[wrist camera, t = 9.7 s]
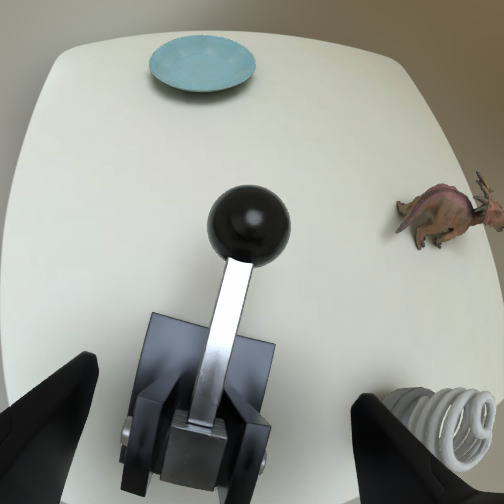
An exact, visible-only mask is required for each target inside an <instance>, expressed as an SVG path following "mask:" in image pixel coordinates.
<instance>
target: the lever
mask: <svg viewBox="0 0 504 504" xmlns="http://www.w3.org/2000/svg"><path fill="white" fill-rule="evenodd" d="M207 232H208V238H209V241H210V243H211V245H212V247H213V249H214V250H215V252H216V253H217V254H218V255H219V256H220V257H221V258H222V259H223V260H225V261H226V263H225V267H224V271H223V275H222V278H221V282H220V286H219V290H218V294H217V298H216V301H215V305H214V309H213V313H212V317H211V321H210V325H209V329H208V333H207V337H206V341H205V345H204V349H203V353H202V357H201V361H200V365H199V369H198V373H197V377H196V381H195V385H194V390H193V394H192V398H191V402H190V406H189V411H185V410H181V409H176V410H175V413H174V417H173V420H172V423H171V427H170V431H169V436H168V441H167V445H166V450H165V455H164V460H163V465H162V470H161V475H160V480H161V481H165V482H169V483H173V484H177V485H181V486H186V487H191V488H196V489H201V490H206V491H214V488H215V484H216V481H217V477H218V473H219V470H220V466H221V462H222V459H223V455H224V451H225V448H226V444H227V440H228V437H227V432H226V428H225V424H224V420H223V419H219V418H216V415H217V412H218V408H219V404H220V400H221V396H222V392H223V388H224V384H225V380H226V376H227V372H228V368H229V364H230V360H231V356H232V351H233V347H234V343H235V339H236V335H237V331H238V327H239V323H240V319H241V315H242V311H243V307H244V303H245V299H246V295H247V291H248V287H249V283H250V279H251V274H252V270H253V268H257V267H261V266H264V265H266V264H268V263H270V262H272V261H273V260H275V259H276V258H277V257H278V256H279V255H280V254H281V253H282V252H283V250H284V249H285V247H286V245H287V243H288V240H289V237H290V232H291V221H290V216H289V212H288V210H287V208H286V206H285V204H284V203H283V202H282V200H281V199H280V198H279V197H278V196H277V195H276V194H275V193H273V192H272V191H270V190H268V189H266V188H264V187H261V186H257V185H241V186H237V187H234V188H232V189H230V190H228V191H226V192H225V193H223V194H222V195H221V196H220V197H219V198H218V199H217V200H216V202H215V203H214V204H213V206H212V208H211V210H210V213H209V216H208V220H207Z"/></svg>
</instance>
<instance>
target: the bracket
mask: <svg viewBox="0 0 504 504" xmlns="http://www.w3.org/2000/svg"><path fill="white" fill-rule="evenodd" d="M208 329H209V328H207V327H203V326H200V325H196V324H192V323H189V322H185V321H182V320H178V319H175V318H171V317H168V316H165V315H161V314H158V313H155V312H152V314H151V318H150V322H149V325H148V329H147V333H146V337H145V340H144V344H143V348H142V352H141V356H140V360H139V364H138V369H137V373H136V377H135V382H134V386H133V391H132V395H131V400H130V405H129V409H128V414H127V418H126V420H125V422H124V425H123V429H122V433H121V444H122V447H121V453H120V459H119V462H120V463H123V464H124V468H123V474H122V481H121V488H120V489H121V490H123V491H126V492H129V493H132V494H135V495H138V496H142V497H145V496H146V493H147V490H148V487H149V484H150V481H151V478H152V475H153V473H155V474H159V475H161V470H162V465H163V460H164V455H165V450H166V445H167V441H168V436H169V431H170V427H171V423H172V420H173V417H174V413H175V410H176V409H181V410H185V411H189V406H190V402H191V398H192V394H193V390H194V385H195V381H196V377H197V373H198V369H199V365H200V361H201V357H202V353H203V349H204V345H205V341H206V337H207V333H208ZM275 346H276V345H275V344H274V343H269V342H265V341H260V340H256V339H251V338H247V337H243V336H239V335H236V339H235V343H234V347H233V351H232V356H231V360H230V364H229V368H228V372H227V376H226V380H225V384H224V388H223V392H222V396H221V400H220V404H219V408H218V412H217V415H216V418H219V419H223V420H224V424H225V428H226V432H227V437H228V440H227V444H226V448H225V451H224V455H223V459H222V462H221V466H220V470H219V473H218V477H217V481H216V484H215V487H217V490H218V496H219V501H220V504H250V502H251V498H252V495H253V492H254V488H255V485H256V482H257V478H258V475H260V474H261V473H262V472H263V470H264V467H265V464H266V446H267V442H268V438H269V435H270V431H271V425H270V424H269V423H268V422H267V421H266V420H265V419H264V418H263V417H262V416H261V415H260V410H261V406H262V402H263V398H264V394H265V389H266V385H267V381H268V377H269V372H270V368H271V364H272V359H273V355H274V350H275Z"/></svg>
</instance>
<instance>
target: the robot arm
mask: <svg viewBox="0 0 504 504" xmlns="http://www.w3.org/2000/svg"><path fill="white" fill-rule="evenodd" d="M98 376H99V368H98V363H97V357H96V355H95V354H93V353H90V352H87V351H84V352H82V353H80V354H79V355H78V356H76V357H75V358H74V359H72V360H71V361H70V362H68V363H67V364H65V365H64V366H63V367H61V368H60V369H59V370H57V371H56V372H55V373H53V374H52V375H51V376H49V377H48V378H47V379H45V380H44V381H43V382H41V383H40V384H39V385H37V386H36V387H35V388H33V389H32V390H31V391H29V392H28V393H27V394H25V395H24V396H23V397H21V398H20V399H19V400H17V401H16V402H15V403H13V404H12V405H11V407H8V408H7V409H6V410H4V411H3V412H1V413H0V504H59V503H60V499H61V496H62V492H63V489H64V485H65V482H66V479H67V475H68V472H69V469H70V466H71V463H72V460H73V457H74V454H75V451H76V448H77V445H78V442H79V439H80V436H81V434H82V431H83V428H84V425H85V423H86V420H87V417H88V414H89V410H90V406H91V402H92V398H93V394H94V391H95V387H96V383H97V380H98ZM351 428H352V445H353V453H354V459H355V466H356V472H357V479H358V487H359V494H360V502H361V504H504V493H492V492H482V491H478V490H476V489H474V488H472V487H471V486H469V485H468V484H467V483H465V482H464V481H463V480H462V479H461V478H459V477H458V476H457V475H455V474H454V473H453V472H452V471H451V470H449V469H448V468H447V467H446V466H445V465H444V464H443V463H442V462H441V461H440V460H439V459H437V458H436V457H435V456H434V455H433V454H432V453H431V452H430V451H429V450H428V449H427V448H426V447H425V446H424V445H423V444H422V443H421V442H420V441H419V440H418V439H417V438H416V437H415V436H414V435H413V434H412V433H411V432H410V431H409V430H408V429H407V428H406V427H405V425H404V424H403V423H402V422H401V421H400V420H399V419H398V418H397V417H396V416H395V415H394V414H393V413H392V412H391V411H390V410H389V409H388V408H387V407H386V406H385V405H384V404H383V403H382V402H381V401H380V400H379V399H378V398H377V397H376V396H375V395H374V394H372V393H362V394H361V395H360V396H359V397H358V399H357V400H356V401H355V403H354V404H353V405H352V407H351Z"/></svg>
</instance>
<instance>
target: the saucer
mask: <svg viewBox="0 0 504 504" xmlns="http://www.w3.org/2000/svg"><path fill="white" fill-rule="evenodd" d="M149 66H150V70H151V72H152V73H153V75H154V76H155V77H156V78H157V79H159V80H160V81H161V82H164V83H166V84H168V85H170V86H172V87H175V88H178V89H181V90H186V91H191V92H213V91H219V90H224V89H227V88H230V87H233V86H236V85H238V84H240V83H242V82H244V81H246V80H247V79H248V78H249V77H250V76H251V75H252V74H253V73H254V71H255V68H256V62H255V58H254V57H253V55H252V54H251V52H250V51H249V50H248V49H247V48H245V47H244V46H242V45H241V44H239V43H237V42H235V41H232V40H229V39H226V38H222V37H217V36H209V35H193V36H186V37H181V38H178V39H175V40H172V41H169V42H167V43H166V44H164V45H162V46H161V47H159V48H158V49H157V50H156V51H155V52H154V53H153V55H152V57H151V58H150V61H149Z"/></svg>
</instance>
